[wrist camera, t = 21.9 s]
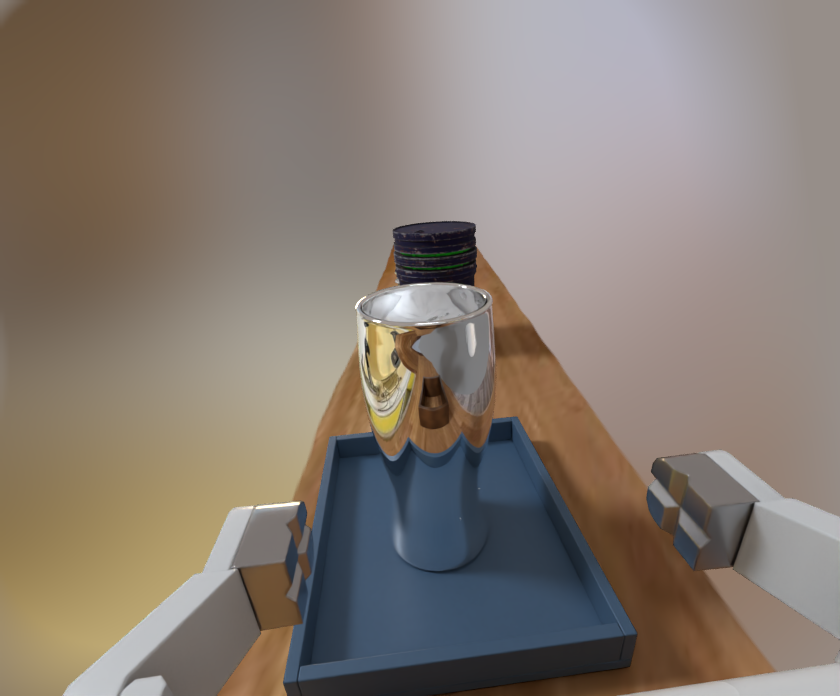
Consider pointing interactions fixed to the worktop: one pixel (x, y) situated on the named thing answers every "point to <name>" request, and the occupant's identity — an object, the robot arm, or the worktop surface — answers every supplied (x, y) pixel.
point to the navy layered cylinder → (435, 252)
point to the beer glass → (431, 413)
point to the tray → (451, 587)
